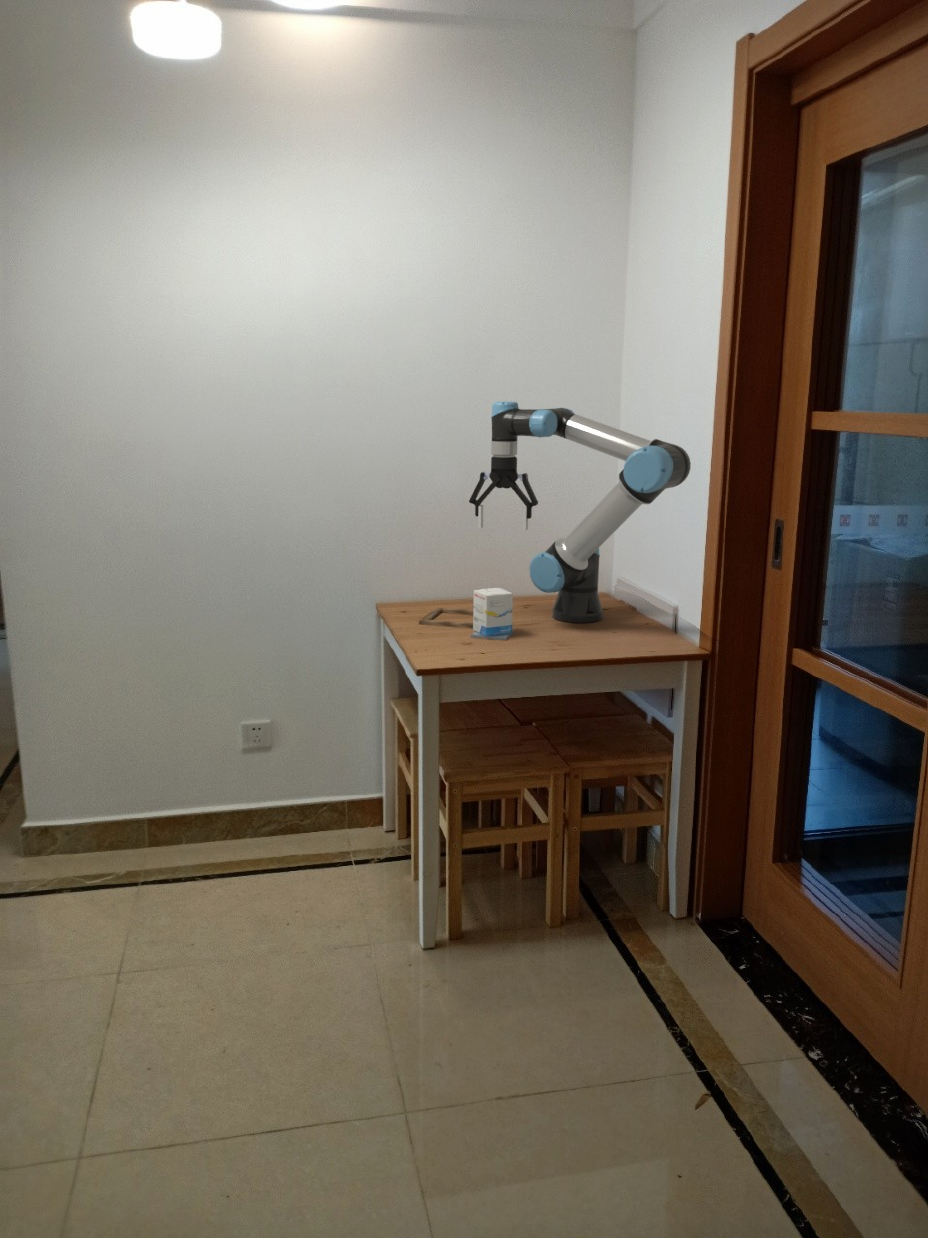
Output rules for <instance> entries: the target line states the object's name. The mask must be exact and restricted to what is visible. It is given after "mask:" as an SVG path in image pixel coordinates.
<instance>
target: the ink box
mask: <svg viewBox="0 0 928 1238" xmlns="http://www.w3.org/2000/svg"><path fill="white" fill-rule="evenodd" d="M513 598H514V594H513V593H512V592H510V591H508V590H506V589H503V588H502V587H493V588H489V587H488V588H480V589H474V590H473V602H472V603H473V606H472V607H473V609H472V610H473V616H472V617H473V618H472V621H473V622H472V623H473V628H472V631H477V632H479V633H481V634H483V635H485V636H494V635H503V634H511V635H513V633H512V629H513V608H514V607H513V605H514V604H513V603H514V599H513Z"/></svg>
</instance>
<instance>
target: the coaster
mask: <svg viewBox="0 0 928 1238" xmlns="http://www.w3.org/2000/svg"><path fill="white" fill-rule="evenodd" d="M514 632H515V629H514V628H512V634H514ZM512 634H503V635H494V636H485V635H483V634H481V633H479V632H477V631H475V630H473V632H471V634H470V638H472V639H482V640H483V639H485V640H498V641H500V640H501V641H507V640H508V639H510V637H511V635H512Z"/></svg>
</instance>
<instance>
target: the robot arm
mask: <svg viewBox="0 0 928 1238" xmlns="http://www.w3.org/2000/svg"><path fill="white" fill-rule="evenodd" d="M491 409H492V410H491V446H490V447H491V449H490V452H491V455H493V456H491V458H490V472H486V471H481V472H480V473H479V480H478V482H477V484H476V486H475V488H474V490H473V491H472V494H471V496H470V498H469V500H468V502H469V504H473V505H474V507H475V508H474V509H475V510H474V511H475V512H474V513H475V514H474V515H475V517H478V519H477V521H478V522H477V523H478V525H477V526H478V527H477V528H478V529H482V528H484V504H482V503H483V502H484V501H485V499H486V498H487V497H488V496H489V495H490V494H491V492H492V491H493V490H494V489H495V488H497V489H507V490H508V489H510V488H511V489H512V491H514V492H515V494H516V495H517V497H518V498H519V499H520V500H521V502H522V503H523V504H524V505H525V507H523V528H522V529H523V531H527V530H528V529H529V519H532V514H533V513H532V509H533V507H535V506H537V505H539V501H538V498H537V497H536V494H535V492H534V490H533V488H532V486H531V483H530V482H529V475H528V474H529V473H527V472H523V473H519V474H518V458H517V455H518V437H522V436H523V437H533V438H535V437H537V438H549V437H552V436H558V437H560V438H563V439H566V440H568V441H571V442H574V443H576V444H579V445H582V446H584V447H588V448H590V449H593V450H595V451H598V452H600V453H604V454H606V455H608V456H612V457H614V458H616V459H619V460H622V461H624V464H623V469H622V470H621V471H620V472H619V474H618V483H617V484H615V486H614V487H613V488H612V489H610V491H609V492H608V493H607V494H606V495H605V496H604V497H603V498H602V499H601V500H600V501H599V503H598V504H596V505H595V507H594V508H593V509H592V510H591V511H590V512H589V513H588V514H587V515H586V516H585V517H584V518H583V519H582V520H581V521H580V523H579V524H577V525H576V526H575V528H573V530H572V531H571V532H569V533H568V535H567V536H566V537H559V538H557V539H555V541H554V542H553V543H552V544H551V545H550V546H549V547H548V548H547V549H546V550H545V551H544V552H543V551H542V552H539V553H537V554H536V555H534V556H533V558H532V559H531V561H530V563H529V568H528V570H529V577H530V580H531V582H532V584H533V585H534V586H535V587H536V588H537V589H538V590H539V591H541V592H542V593H546V594H547V593H548V594H550V593H551V594H552V593H553V594H554V593H557V596H556V597H555V602H554V604H553V606H552V610H551V611H552V614H551V615H552V618H553V619H554V620H558V621H561V622H566V623H580V624H583V623H586V624H587V623H594V622H599V621H601V620H603V618H604V610H603V607H602V603H601V600H600V596H599V573H600V571H599V570H600V556H601V555H600V548H601V546H602V545H603V544H604V543H605V542H607V540H608V539H609V538H610V537H611V536H613V534H614V533H615V532H616V531H617V530H618V529H619V528H620V527H621V526H622V525H623V524H624V523H625V522H626V521H627V520H628V519H629V518H630V517H631V516H632V515H633V514H634V513H635V512H636V511H637V510H638V509H639V508H640V507H641V506H642V505H650V504H651V503H653V502H654V500H656V499H657V498H658V496H660V495H661V494H662V493H663V492H664V491H665V490H666V489H670V488H675V487H677V486H680V485H681V484H682V483H684V481H686V480H687V478H688V477H689V474H690V472H691V464H692V463H691V459H690V456H689V454H688V452H687V451H686V450H685V449H684V448H683V447H681V446H679V445H677V444H674V443H670V442H666V441H663V440H660V439H657V438H654V439H652V440H649V439H647V438H644V437H641V436H638V435H634V434H632V433H630V432H627V431H624V430H620V429H618V428H616V427H613V426H609V425H607V424H605V423H602V422H598V421H596V420H593V419H591V418H587V417H585V416H582V415H579V414H575V412H574V411H573V410H572V409H569V408H564V407H557V408H539V409H531V408H530V409H525V408H523V409H522V408H519V403H518V402H517V401H495V402H493V404H492V408H491ZM488 478H489V479H490V481H491V483H490V484H489V486H488V487H487V488H486V489H485V490H484V492H483V493H482V494H481V495H480V496H478V495H479V494H480V491H482V488H483V486H484V483H485V482H486V480H488ZM518 479H519V480H520V481H521V482H522V485H523V488H524V489H525V491H526V494H527V495H528V496H526V495H525V493H524V492H523V490H522V489H521V488H520V487H519V485H518V484H517V480H518ZM477 497H478V499H477ZM528 497H529V498H528ZM529 499H530V500H529Z"/></svg>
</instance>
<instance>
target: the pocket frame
mask: <svg viewBox="0 0 928 1238" xmlns="http://www.w3.org/2000/svg"><path fill="white" fill-rule="evenodd" d="M441 613H442V614H458V615H470V616H471V615H473V609H465V608H464V609H462V608H450V607H449V608H447V607H436V608H434V609H433V610H431V611H430V612H429V613H427V614H426V615H424V617H422V618H420V619H419V620H418V625H426V626H427V625H428V626H438V627H439V626H441V627H452V628H463V629H464V628H465V629H473V622H465V621H464V622H463V621H451V620H450V621H449V620H448V621H447V620H436V619H435V618H436V617H437V616H439V615H440V614H441ZM434 619H435V620H434Z"/></svg>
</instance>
